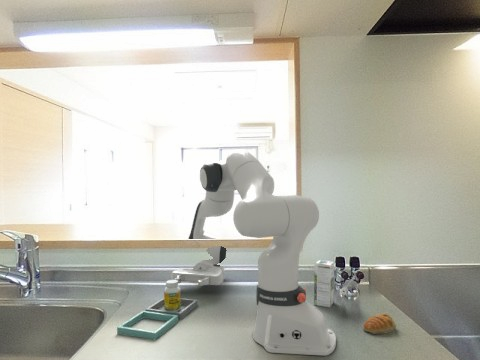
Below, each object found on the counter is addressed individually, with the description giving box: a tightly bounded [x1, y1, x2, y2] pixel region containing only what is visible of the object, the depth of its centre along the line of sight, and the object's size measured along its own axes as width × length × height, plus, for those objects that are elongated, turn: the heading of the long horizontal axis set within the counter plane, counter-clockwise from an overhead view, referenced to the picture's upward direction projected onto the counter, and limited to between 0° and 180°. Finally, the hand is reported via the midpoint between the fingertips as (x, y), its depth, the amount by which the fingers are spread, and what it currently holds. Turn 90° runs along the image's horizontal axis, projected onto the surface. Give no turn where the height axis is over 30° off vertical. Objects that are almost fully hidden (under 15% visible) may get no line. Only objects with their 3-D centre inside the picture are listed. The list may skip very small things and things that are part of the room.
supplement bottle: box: [163, 279, 182, 312], centre depth 116 cm, size 5×5×10 cm
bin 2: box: [144, 297, 199, 320], centre depth 116 cm, size 13×13×2 cm
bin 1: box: [116, 310, 179, 340], centre depth 102 cm, size 13×13×2 cm
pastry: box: [363, 312, 397, 335], centre depth 100 cm, size 9×7×4 cm
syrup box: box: [313, 259, 335, 308], centre depth 120 cm, size 6×6×14 cm
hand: (188, 282), depth 126 cm, fingers open, 8 cm apart
